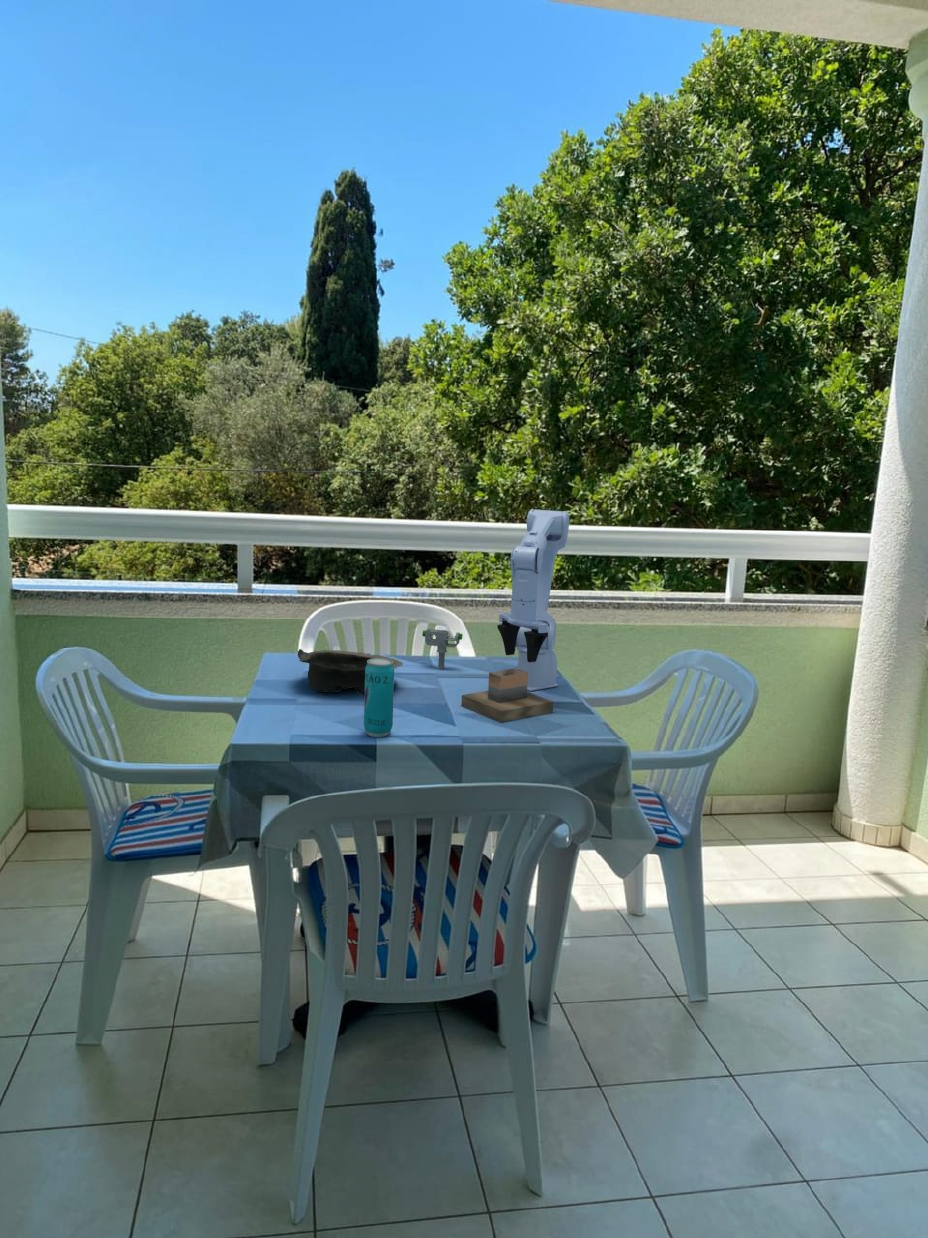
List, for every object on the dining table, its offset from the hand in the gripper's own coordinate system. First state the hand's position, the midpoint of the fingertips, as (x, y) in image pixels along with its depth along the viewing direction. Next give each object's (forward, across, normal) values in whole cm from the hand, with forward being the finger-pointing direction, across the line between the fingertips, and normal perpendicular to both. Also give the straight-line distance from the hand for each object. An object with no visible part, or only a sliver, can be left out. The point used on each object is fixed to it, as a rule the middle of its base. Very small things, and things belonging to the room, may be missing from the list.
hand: (520, 658), depth 207 cm
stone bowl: (+11, -30, -27) cm, 42 cm away
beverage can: (+11, +3, -40) cm, 41 cm away
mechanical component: (+10, -33, +2) cm, 35 cm away
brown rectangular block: (+8, +3, -6) cm, 10 cm away
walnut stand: (+10, +3, -6) cm, 12 cm away
